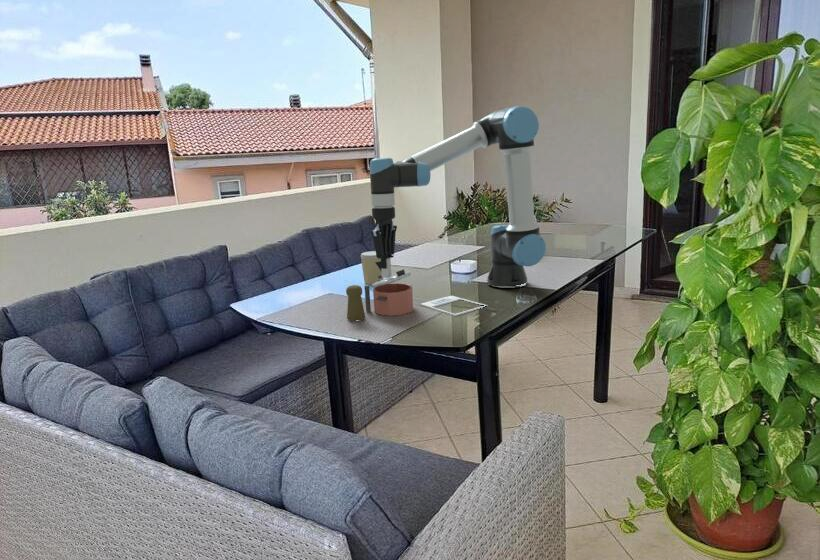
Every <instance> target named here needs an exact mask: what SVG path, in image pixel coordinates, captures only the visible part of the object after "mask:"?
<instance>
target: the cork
mask: <svg viewBox="0 0 820 560" xmlns="http://www.w3.org/2000/svg"><path fill="white" fill-rule="evenodd" d="M345 292H346V293H345V294H346V295H347V308H346V309H347V311H346V320H347V319H348V320H350V321H349V322H353V321H355V322H357V321H356V320H362V319H364V318H365V319H366V313H365V310H364V309H365V308H364V304H363V301H362V300H363V299H362V295H363V287H362V286H360V285H356V284H352V285H349V286H347V287H346V289H345ZM365 319H364V320H365ZM348 320H347V321H348ZM362 321H363V320H362Z"/></svg>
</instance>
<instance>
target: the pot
mask: <svg viewBox="0 0 820 560" xmlns="http://www.w3.org/2000/svg"><path fill="white" fill-rule="evenodd" d="M383 279H384V278H383ZM383 279H379V281H381V280H383ZM372 291H373V292H372V295H373V296H372V297H373V311H374V313H375V312H376V313H375V314H377V313H378V314H377V315H379V314H381V315H380V316H384V315H390V316H389V317H392V316H391V315H398V316H402V314H403V315H407V314H406V313H408V314H410V313H411V312H413V311H414V298H413V286H412V285H411V284H409V283H405V282H404V283H402V282H392V283H389V284H386V285H383V286H379V287H375V288H373V287H372ZM370 295H371V294H370V284H366V285H364V297H365V299H364V300H365V311H370V312H371V311H372V309H371V296H370ZM409 312H410V313H409Z"/></svg>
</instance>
